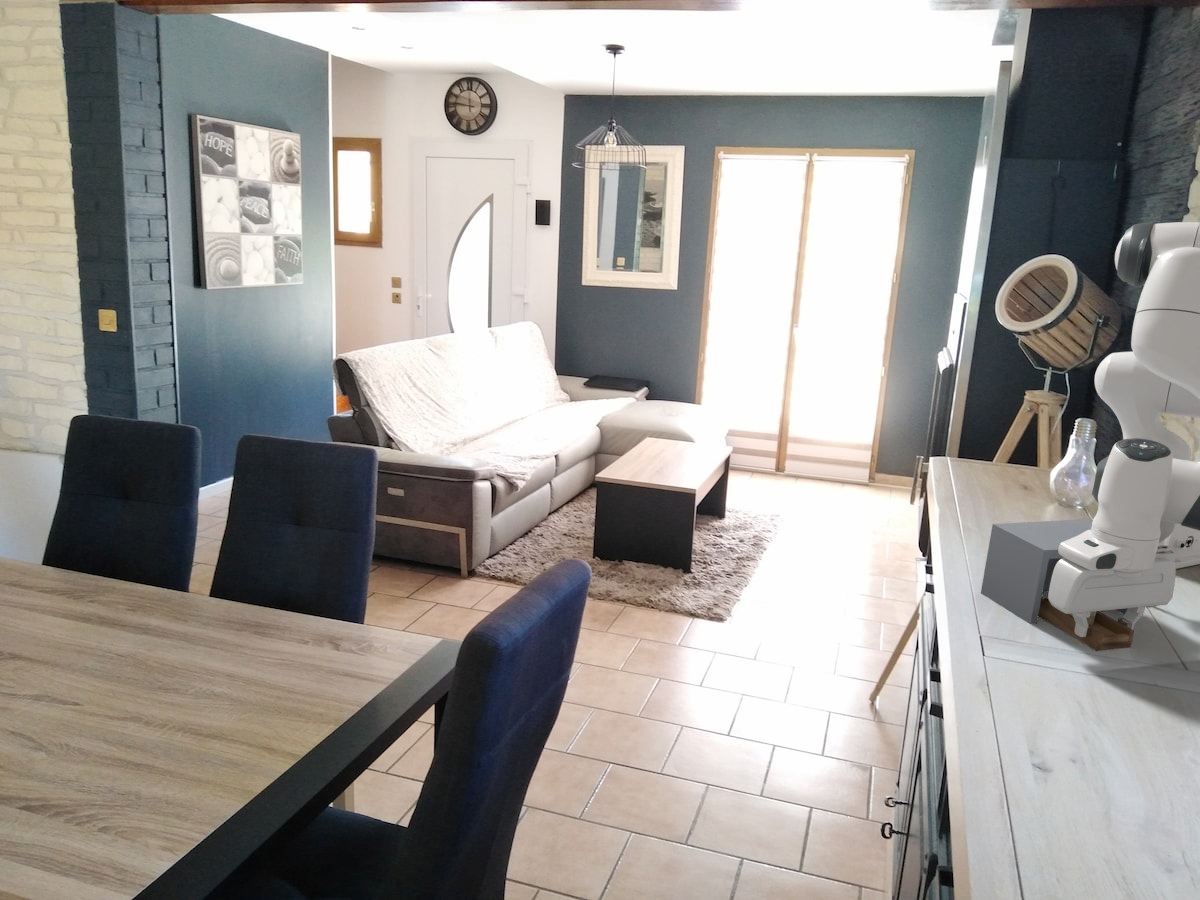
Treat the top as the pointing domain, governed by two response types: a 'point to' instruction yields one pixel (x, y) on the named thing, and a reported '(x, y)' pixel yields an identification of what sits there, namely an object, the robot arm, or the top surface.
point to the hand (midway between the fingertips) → (1103, 633)
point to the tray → (1103, 632)
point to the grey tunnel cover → (1026, 563)
